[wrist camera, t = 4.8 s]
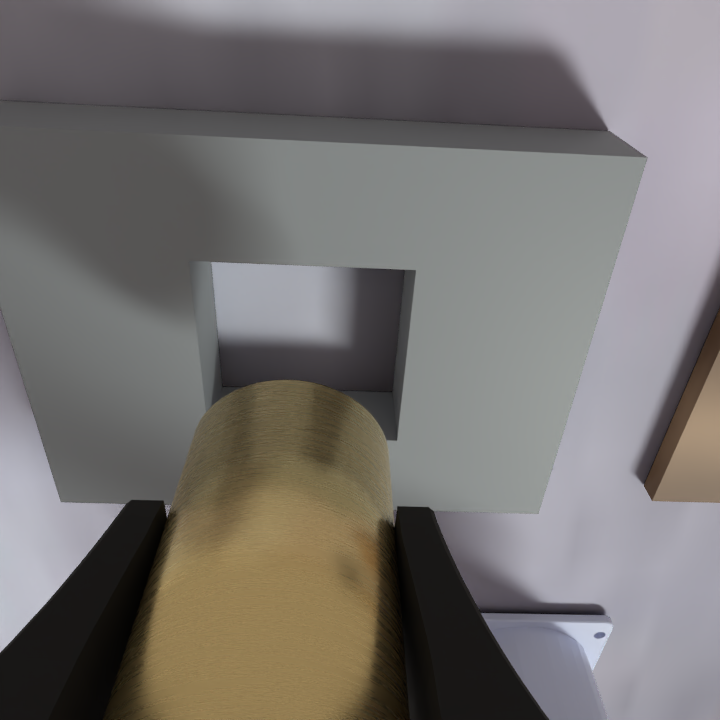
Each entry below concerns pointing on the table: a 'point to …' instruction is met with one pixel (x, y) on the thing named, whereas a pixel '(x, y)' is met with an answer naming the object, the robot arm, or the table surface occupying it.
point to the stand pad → (693, 436)
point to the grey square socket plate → (307, 248)
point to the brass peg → (273, 570)
